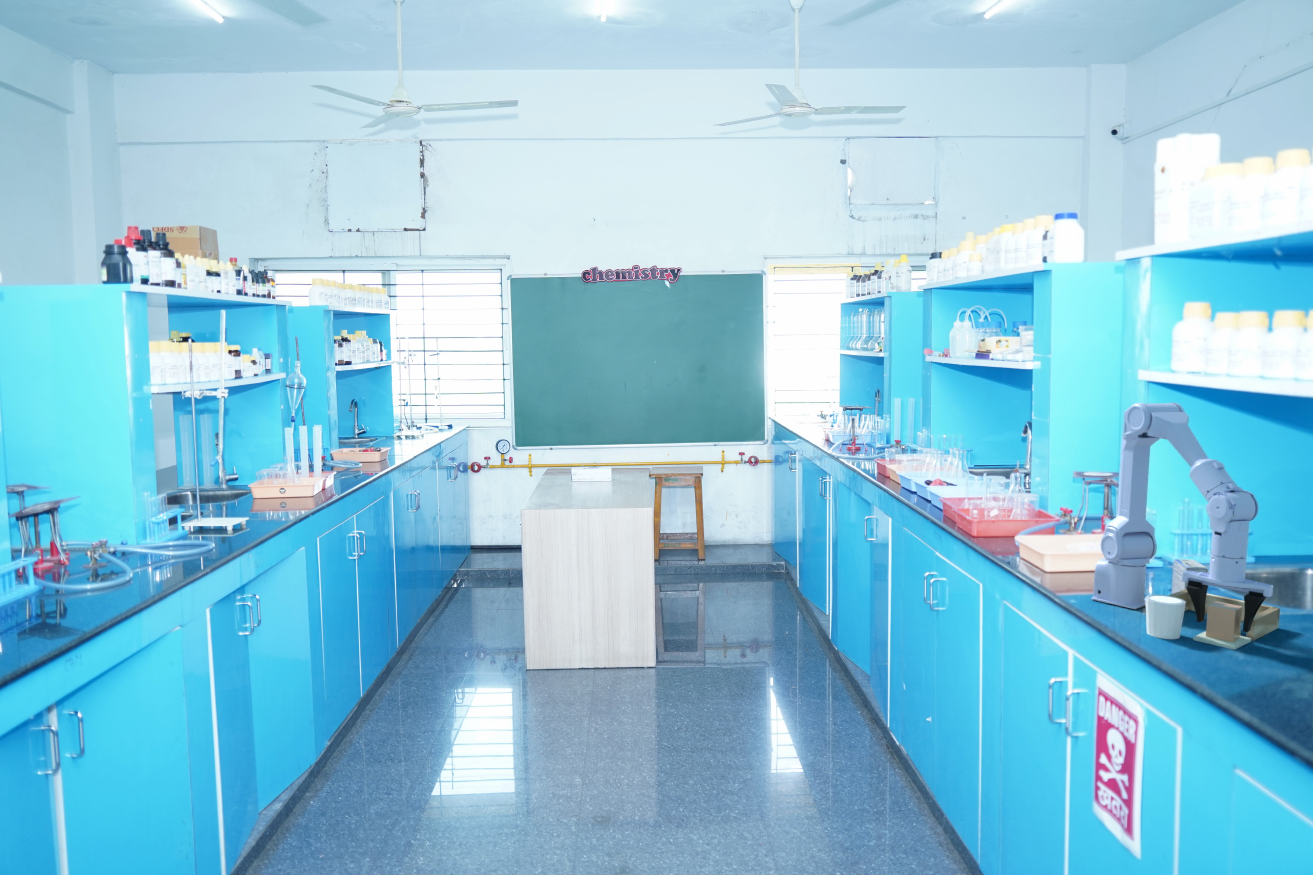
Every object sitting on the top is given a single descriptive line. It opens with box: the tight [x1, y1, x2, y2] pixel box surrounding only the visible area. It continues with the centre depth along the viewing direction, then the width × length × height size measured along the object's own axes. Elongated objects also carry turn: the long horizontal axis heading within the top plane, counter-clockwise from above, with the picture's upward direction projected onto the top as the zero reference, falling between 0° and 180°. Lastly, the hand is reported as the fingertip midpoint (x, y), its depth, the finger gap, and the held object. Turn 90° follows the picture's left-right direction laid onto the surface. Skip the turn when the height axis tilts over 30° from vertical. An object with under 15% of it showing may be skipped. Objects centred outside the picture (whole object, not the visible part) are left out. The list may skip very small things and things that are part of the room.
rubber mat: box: [1192, 630, 1252, 651], centre depth 172 cm, size 7×8×1 cm
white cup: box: [1144, 594, 1186, 640], centre depth 176 cm, size 7×7×7 cm
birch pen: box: [1168, 589, 1281, 642], centre depth 183 cm, size 17×13×4 cm
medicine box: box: [1171, 558, 1209, 594], centre depth 198 cm, size 8×4×9 cm, turn 168°
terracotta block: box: [1205, 601, 1242, 642], centre depth 172 cm, size 4×4×6 cm
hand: (1223, 625), depth 172 cm, fingers open, 7 cm apart
